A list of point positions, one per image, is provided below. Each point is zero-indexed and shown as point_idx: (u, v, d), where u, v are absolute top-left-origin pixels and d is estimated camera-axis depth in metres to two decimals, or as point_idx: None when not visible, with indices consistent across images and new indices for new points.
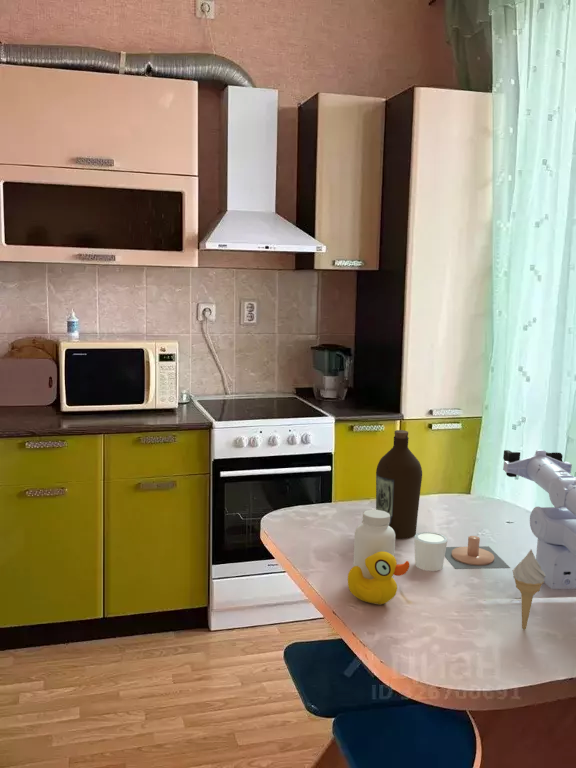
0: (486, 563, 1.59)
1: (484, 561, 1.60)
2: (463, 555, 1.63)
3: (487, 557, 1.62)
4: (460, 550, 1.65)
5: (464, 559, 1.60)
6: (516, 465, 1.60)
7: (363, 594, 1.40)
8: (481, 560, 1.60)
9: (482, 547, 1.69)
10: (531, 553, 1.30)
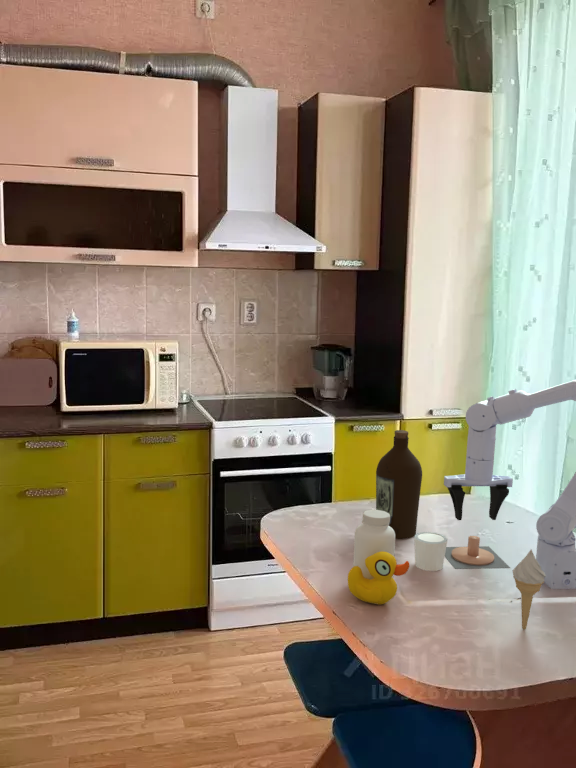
0: (486, 563, 1.59)
1: (484, 561, 1.60)
2: (463, 555, 1.63)
3: (487, 557, 1.62)
4: (460, 550, 1.65)
5: (464, 559, 1.60)
6: (454, 478, 1.61)
7: (363, 594, 1.40)
8: (481, 560, 1.60)
9: (482, 547, 1.69)
10: (531, 553, 1.30)
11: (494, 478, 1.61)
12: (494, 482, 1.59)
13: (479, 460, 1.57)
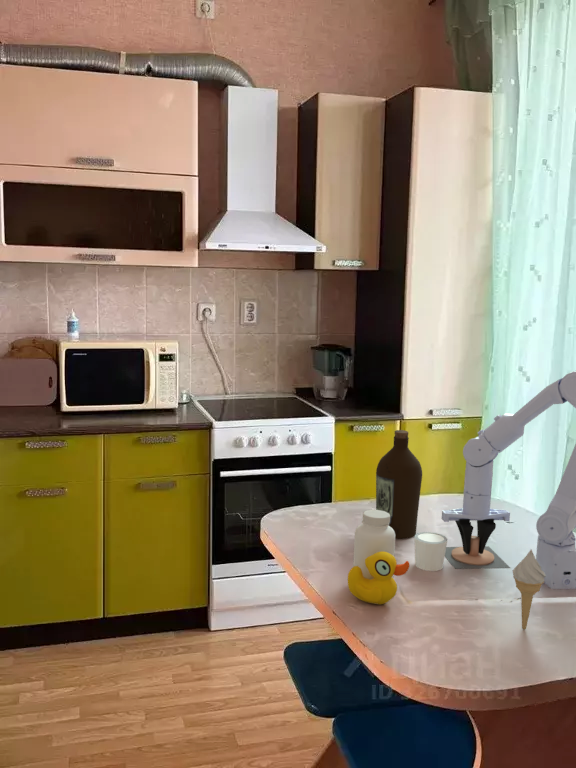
0: (486, 563, 1.59)
1: (485, 561, 1.60)
2: (464, 555, 1.63)
3: (487, 557, 1.62)
4: (460, 550, 1.65)
5: (464, 559, 1.60)
6: None
7: (363, 594, 1.40)
8: (481, 560, 1.60)
9: None
10: (531, 553, 1.30)
11: (491, 512, 1.62)
12: (491, 517, 1.60)
13: (476, 495, 1.58)
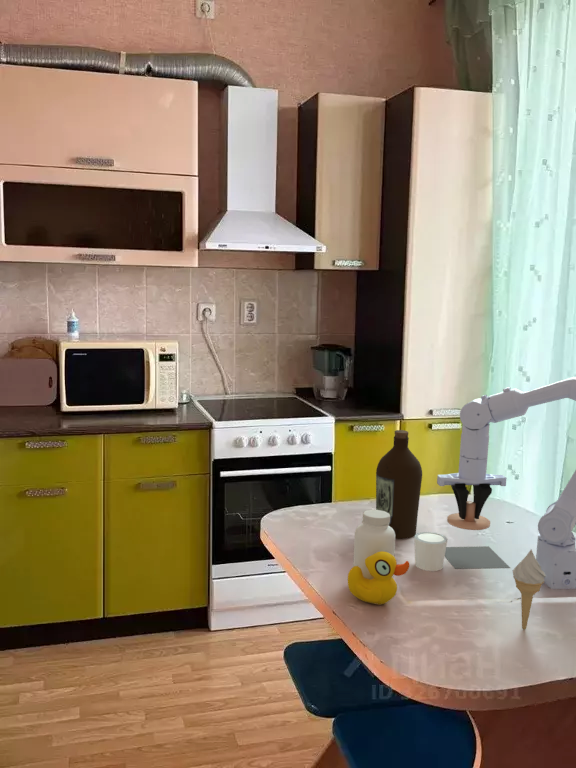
0: (482, 528, 1.57)
1: (480, 526, 1.58)
2: (459, 520, 1.61)
3: (483, 522, 1.60)
4: (456, 516, 1.63)
5: (460, 524, 1.58)
6: None
7: (363, 594, 1.40)
8: (477, 525, 1.58)
9: (482, 547, 1.69)
10: (531, 553, 1.30)
11: (488, 477, 1.60)
12: (487, 481, 1.58)
13: (472, 459, 1.56)
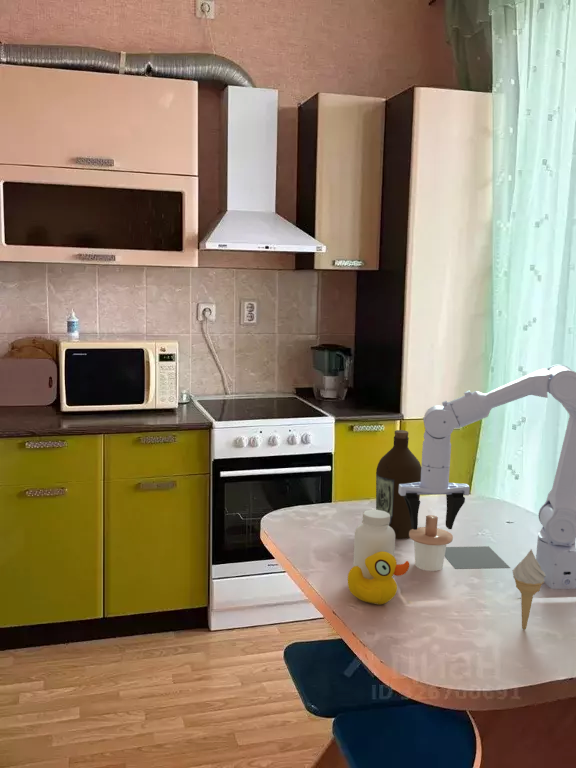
0: (444, 543, 1.53)
1: (442, 541, 1.54)
2: (421, 535, 1.56)
3: (445, 537, 1.56)
4: (418, 530, 1.59)
5: (421, 539, 1.54)
6: (409, 486, 1.55)
7: (363, 594, 1.40)
8: (438, 540, 1.54)
9: (482, 547, 1.69)
10: (531, 553, 1.30)
11: (450, 486, 1.56)
12: (450, 490, 1.54)
13: (434, 468, 1.52)
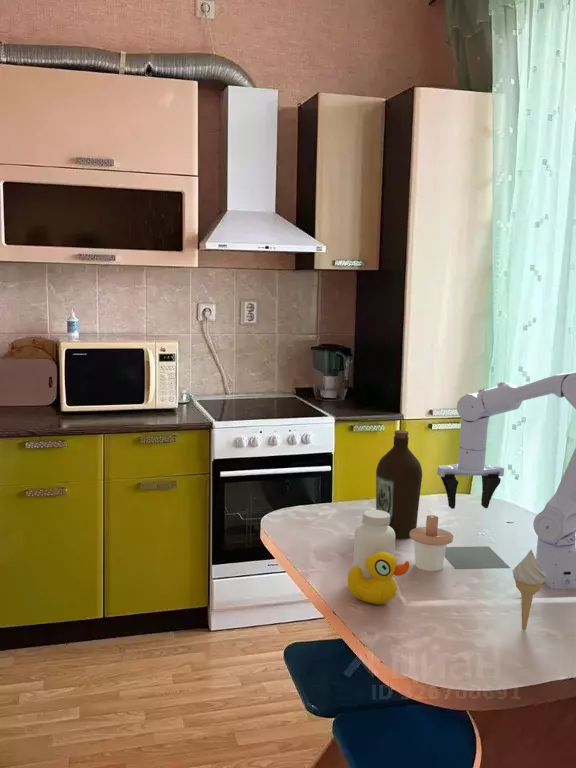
0: (444, 543, 1.53)
1: (442, 541, 1.54)
2: (421, 535, 1.56)
3: (446, 537, 1.56)
4: (419, 530, 1.59)
5: (421, 539, 1.54)
6: None
7: (363, 594, 1.40)
8: (439, 540, 1.54)
9: (482, 547, 1.69)
10: (531, 553, 1.30)
11: (486, 467, 1.66)
12: (486, 471, 1.64)
13: (472, 450, 1.62)
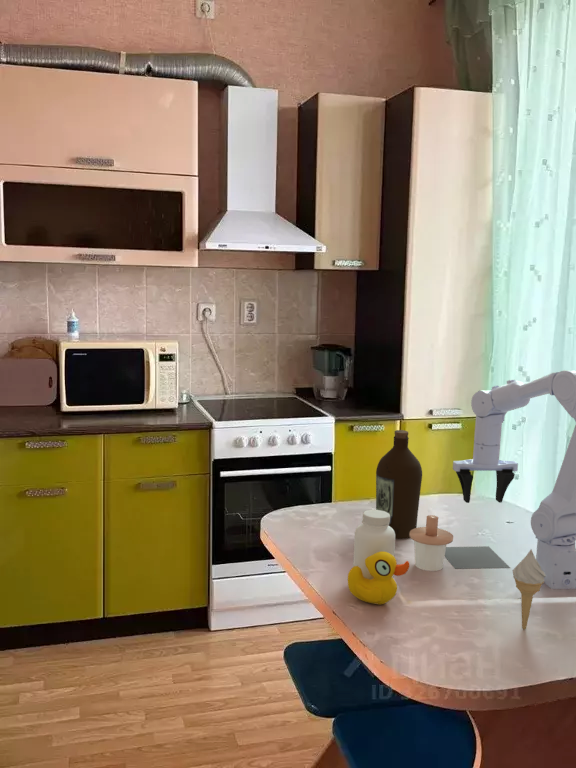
0: (444, 543, 1.53)
1: (442, 541, 1.54)
2: (421, 535, 1.56)
3: (446, 537, 1.56)
4: (419, 530, 1.59)
5: (421, 539, 1.54)
6: None
7: (363, 594, 1.40)
8: (439, 540, 1.54)
9: (482, 547, 1.69)
10: (531, 553, 1.30)
11: (500, 463, 1.70)
12: (500, 467, 1.68)
13: (486, 445, 1.67)
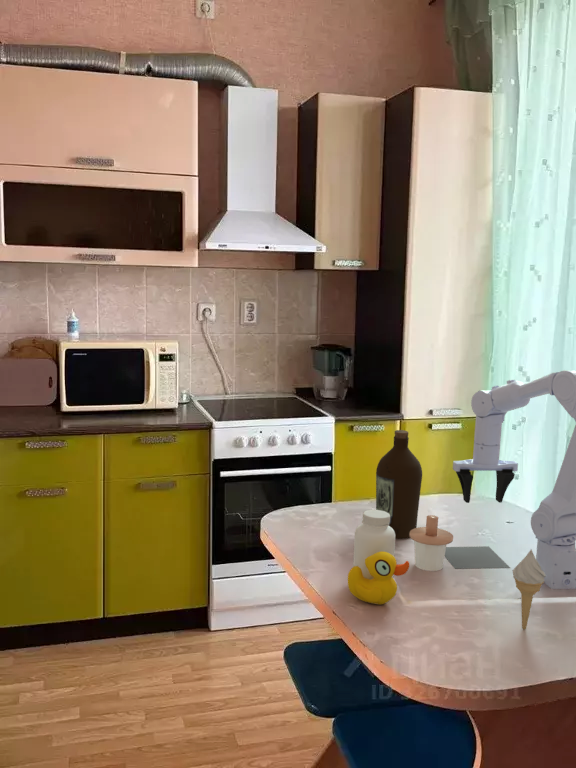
0: (444, 543, 1.53)
1: (442, 541, 1.54)
2: (421, 535, 1.56)
3: (446, 537, 1.56)
4: (419, 530, 1.59)
5: (421, 539, 1.54)
6: None
7: (363, 594, 1.40)
8: (439, 540, 1.54)
9: (482, 547, 1.69)
10: (531, 553, 1.30)
11: (500, 463, 1.70)
12: (500, 467, 1.68)
13: (486, 445, 1.67)
